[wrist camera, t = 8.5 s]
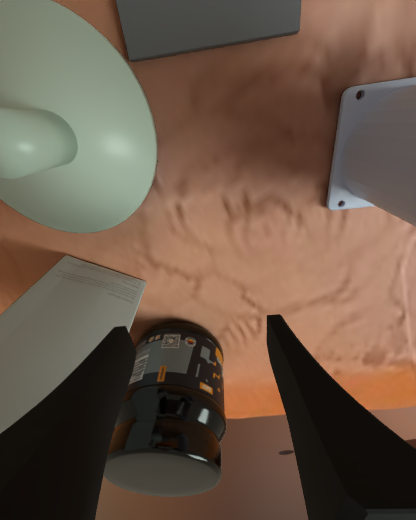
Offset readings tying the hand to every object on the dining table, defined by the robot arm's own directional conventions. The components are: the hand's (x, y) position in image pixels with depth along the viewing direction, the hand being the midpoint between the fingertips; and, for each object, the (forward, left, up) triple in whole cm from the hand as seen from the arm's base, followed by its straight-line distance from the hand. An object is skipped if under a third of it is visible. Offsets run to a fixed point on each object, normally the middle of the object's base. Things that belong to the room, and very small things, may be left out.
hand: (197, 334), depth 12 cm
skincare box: (+11, +4, -11) cm, 16 cm away
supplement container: (+5, +14, -11) cm, 18 cm away
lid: (+7, -10, -6) cm, 13 cm away
